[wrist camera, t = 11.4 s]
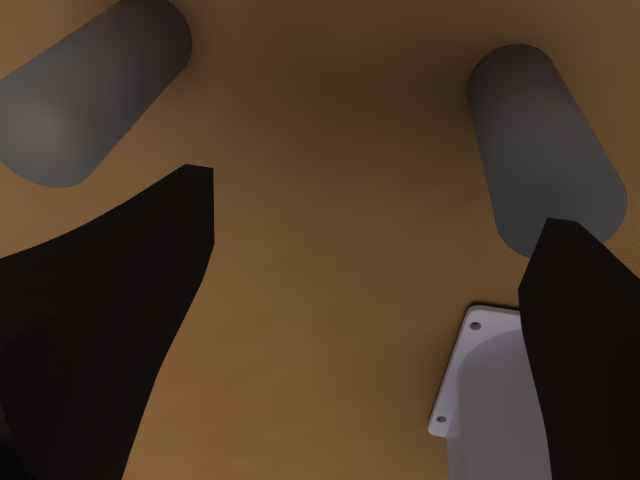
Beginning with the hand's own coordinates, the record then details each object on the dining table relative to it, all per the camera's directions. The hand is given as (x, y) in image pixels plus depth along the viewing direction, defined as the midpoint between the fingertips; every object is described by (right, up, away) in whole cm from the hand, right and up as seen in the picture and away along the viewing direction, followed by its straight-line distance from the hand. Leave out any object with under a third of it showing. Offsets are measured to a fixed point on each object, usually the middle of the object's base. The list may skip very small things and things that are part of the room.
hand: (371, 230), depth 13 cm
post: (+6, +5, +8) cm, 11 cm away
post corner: (-7, +7, +8) cm, 13 cm away
